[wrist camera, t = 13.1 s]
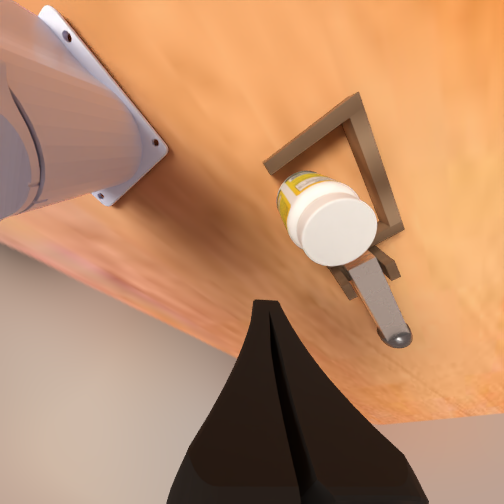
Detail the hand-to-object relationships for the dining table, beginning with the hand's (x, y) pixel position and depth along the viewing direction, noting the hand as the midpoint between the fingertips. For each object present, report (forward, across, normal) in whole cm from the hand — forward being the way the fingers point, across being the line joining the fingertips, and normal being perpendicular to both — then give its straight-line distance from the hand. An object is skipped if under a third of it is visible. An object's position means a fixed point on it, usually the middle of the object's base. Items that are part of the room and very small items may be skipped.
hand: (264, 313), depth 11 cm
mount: (+10, -7, -4) cm, 13 cm away
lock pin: (+8, -13, +5) cm, 16 cm away
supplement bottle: (+10, -4, -4) cm, 12 cm away
